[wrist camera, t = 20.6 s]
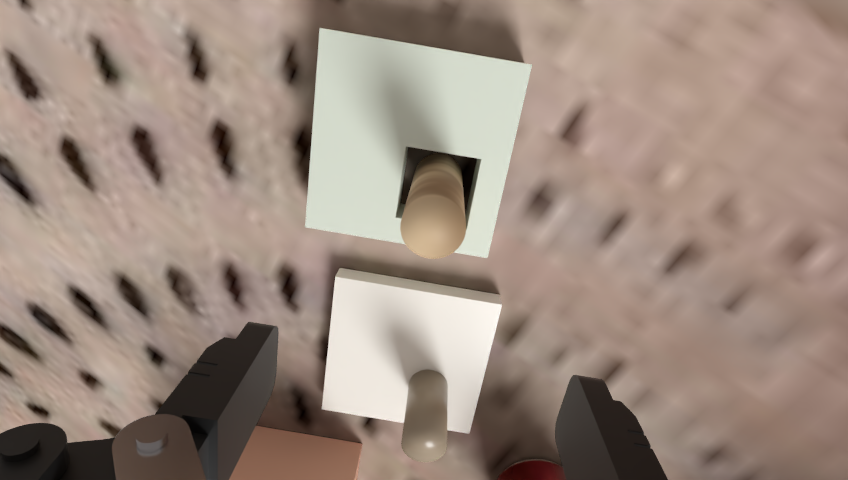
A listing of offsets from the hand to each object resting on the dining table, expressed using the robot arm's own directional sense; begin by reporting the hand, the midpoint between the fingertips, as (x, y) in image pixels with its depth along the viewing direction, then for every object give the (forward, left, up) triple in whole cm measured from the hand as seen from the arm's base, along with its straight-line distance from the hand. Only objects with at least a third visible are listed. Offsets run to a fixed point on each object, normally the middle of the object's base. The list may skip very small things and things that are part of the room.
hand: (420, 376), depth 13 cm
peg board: (-2, +2, -21) cm, 21 cm away
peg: (0, 0, -21) cm, 21 cm away
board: (0, -14, -21) cm, 25 cm away
